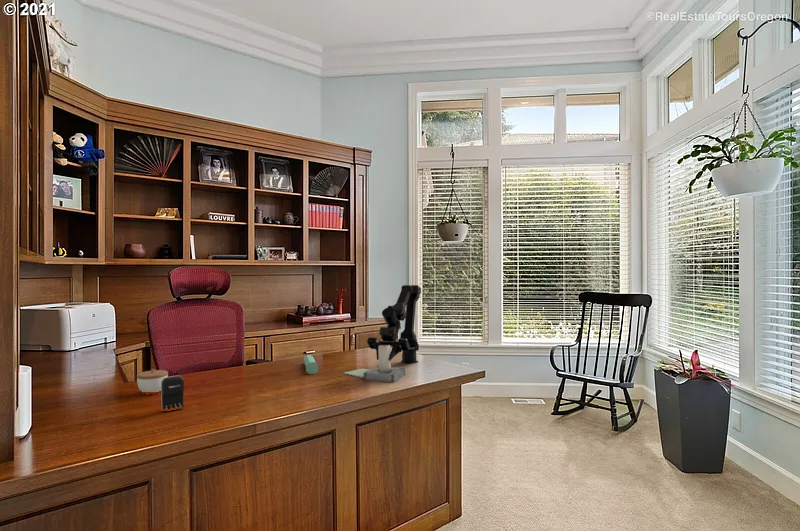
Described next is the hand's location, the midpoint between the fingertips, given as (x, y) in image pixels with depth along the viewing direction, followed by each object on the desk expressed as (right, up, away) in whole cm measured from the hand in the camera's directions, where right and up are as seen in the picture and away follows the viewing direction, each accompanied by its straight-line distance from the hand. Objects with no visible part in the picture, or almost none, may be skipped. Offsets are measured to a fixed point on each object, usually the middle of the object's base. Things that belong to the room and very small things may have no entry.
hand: (383, 359), depth 204 cm
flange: (+1, -8, +2) cm, 8 cm away
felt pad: (-10, -8, +9) cm, 15 cm away
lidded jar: (-89, -9, -22) cm, 92 cm away
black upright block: (-70, -9, -44) cm, 83 cm away
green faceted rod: (-36, -9, +21) cm, 42 cm away
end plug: (+1, -7, +1) cm, 7 cm away
